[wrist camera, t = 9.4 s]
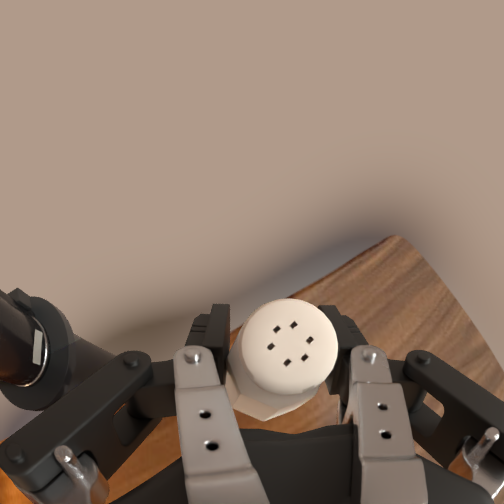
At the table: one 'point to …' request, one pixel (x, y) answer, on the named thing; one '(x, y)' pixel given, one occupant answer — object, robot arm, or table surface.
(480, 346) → the table surface
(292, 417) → the table surface
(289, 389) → the pepper shaker
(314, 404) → the table surface
